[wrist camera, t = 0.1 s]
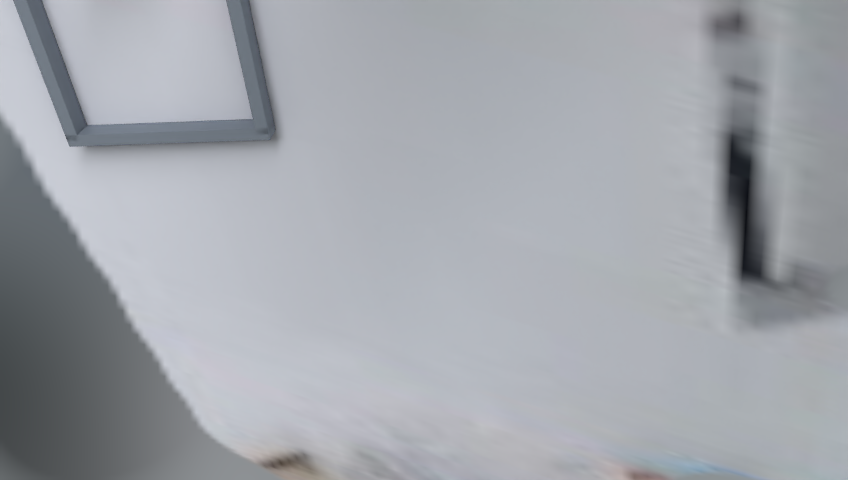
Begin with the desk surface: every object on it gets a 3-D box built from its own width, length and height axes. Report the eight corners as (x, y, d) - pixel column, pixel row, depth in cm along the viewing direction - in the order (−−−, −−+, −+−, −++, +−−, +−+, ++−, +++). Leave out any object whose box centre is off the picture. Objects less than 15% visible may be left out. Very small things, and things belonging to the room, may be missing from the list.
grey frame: (2, -71, 54) (-12, -65, 52) (230, -87, 52) (222, -82, 50) (79, 136, 63) (69, 146, 61) (275, 129, 61) (269, 139, 59)
